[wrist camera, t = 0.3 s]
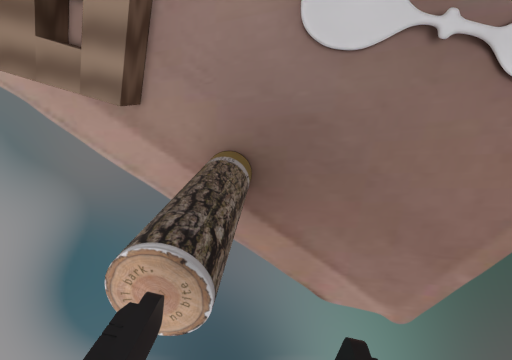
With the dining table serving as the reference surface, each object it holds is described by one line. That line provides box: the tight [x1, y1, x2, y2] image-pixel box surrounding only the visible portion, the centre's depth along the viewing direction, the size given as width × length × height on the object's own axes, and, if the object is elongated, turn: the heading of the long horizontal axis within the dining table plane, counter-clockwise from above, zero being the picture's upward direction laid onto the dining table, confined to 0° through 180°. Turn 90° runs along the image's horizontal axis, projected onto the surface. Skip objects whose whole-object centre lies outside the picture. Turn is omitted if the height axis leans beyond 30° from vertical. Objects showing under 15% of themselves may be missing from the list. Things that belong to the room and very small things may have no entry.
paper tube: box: [105, 151, 252, 336], centre depth 27 cm, size 7×7×25 cm
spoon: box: [301, 0, 512, 76], centre depth 29 cm, size 9×32×4 cm, turn 79°
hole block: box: [0, 0, 152, 106], centre depth 31 cm, size 16×16×5 cm
